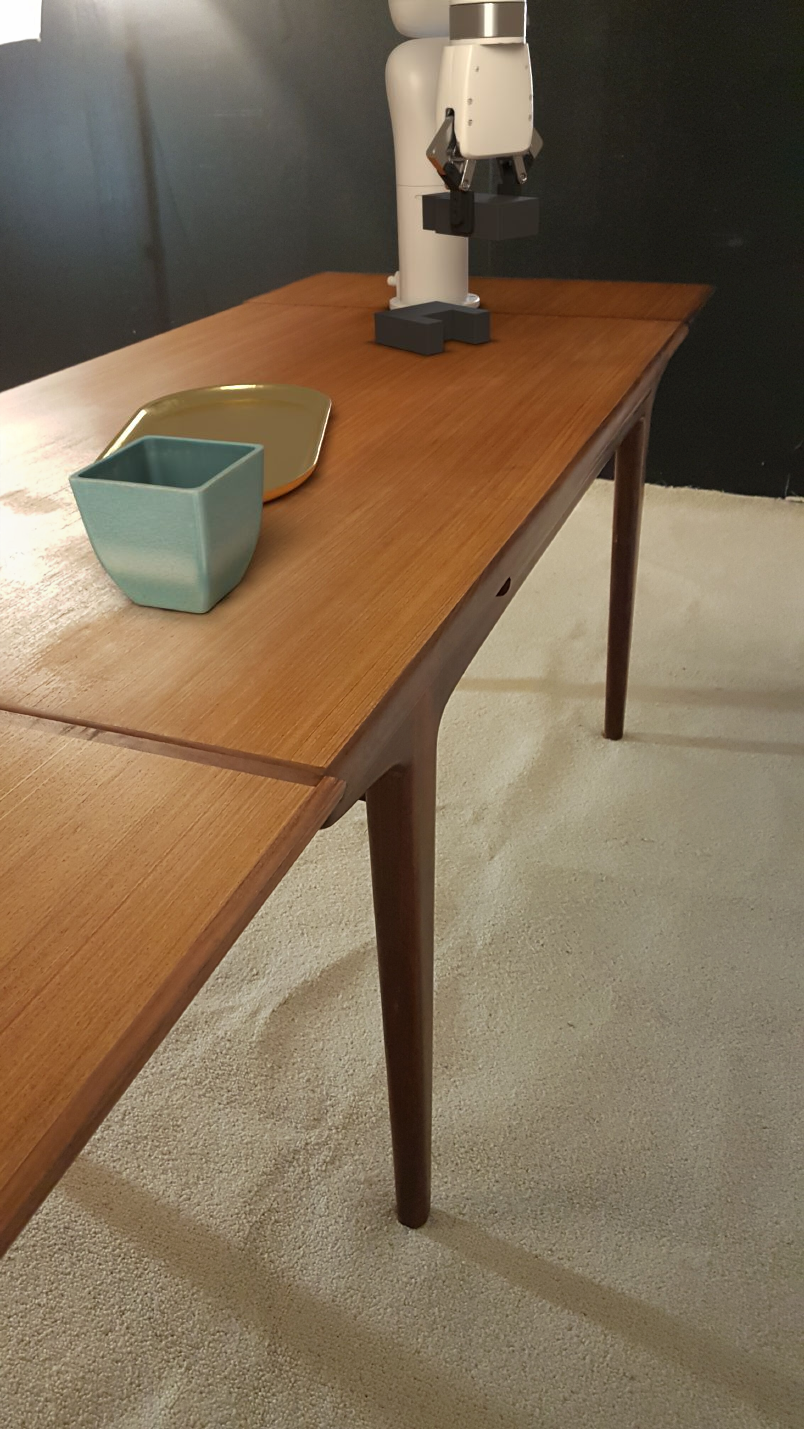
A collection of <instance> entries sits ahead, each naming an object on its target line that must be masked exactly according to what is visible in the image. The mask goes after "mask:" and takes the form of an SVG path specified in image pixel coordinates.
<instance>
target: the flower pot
mask: <svg viewBox="0 0 804 1429" xmlns="http://www.w3.org/2000/svg"><path fill="white" fill-rule="evenodd" d="M263 478H264V446H263V445H261V444H252V443H239V442H227V441H215V440H205V439H194V438H182V437H170V436H158V435H146V436H143V437H141V438H138V439H136V440H134V441H132V442H130V443H129V444H127V445H126V446H123V447H122V448H120V449H118V450H117V451H115V452H113V453H111V454H109V455H107V456H106V457H104V458H102V459H100V460H98V461H96V462H95V461H93V463H90V464H88V465H87V466H85V467H83V468H81V469H79V470H77V471H76V472H74V473H72V474H71V475H70V476H68V478H67V479H68V482H69V485H70V488H71V491H72V492H71V493H72V494H73V497H74V500H75V502H76V506H77V509H78V511H79V515H80V518H81V520H82V523H83V527H84V529H85V532H86V535H87V537H88V540H89V543H90V545H91V548H92V550H93V552H94V554H95V557H96V558H97V560H98V562H99V563H100V565H101V567H102V568H103V570H104V571H105V573H106V574H107V575H108V577H109V578H110V579H111V580H112V582H113V583H114V584H115V585H116V586H117V587H118V589H120V590H121V591H122V592H123V593H124V594H125V595H126V596H127V597H128V598H129V599H130V600H131V601H132V602H133V603H134V604H136V605H140V606H145V607H152V608H161V609H167V610H174V611H181V612H186V613H193V614H194V613H195V614H205V613H207V612H208V611H210V610H211V609H212V608H214V606H215V605H216V604H218V602H220V601H221V600H222V599H223V598H225V596H226V595H227V594H229V593H230V592H231V591H232V590H233V589H234V588H235V587H236V586H238V585H239V583H240V582H241V581H242V578H244V577H243V576H244V575H245V573H246V571H247V569H248V567H249V564H250V562H251V560H252V558H253V556H254V553H255V550H256V547H257V543H258V540H259V536H260V532H261V527H262V521H263V509H264V508H263V506H264V503H263Z"/></svg>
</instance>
